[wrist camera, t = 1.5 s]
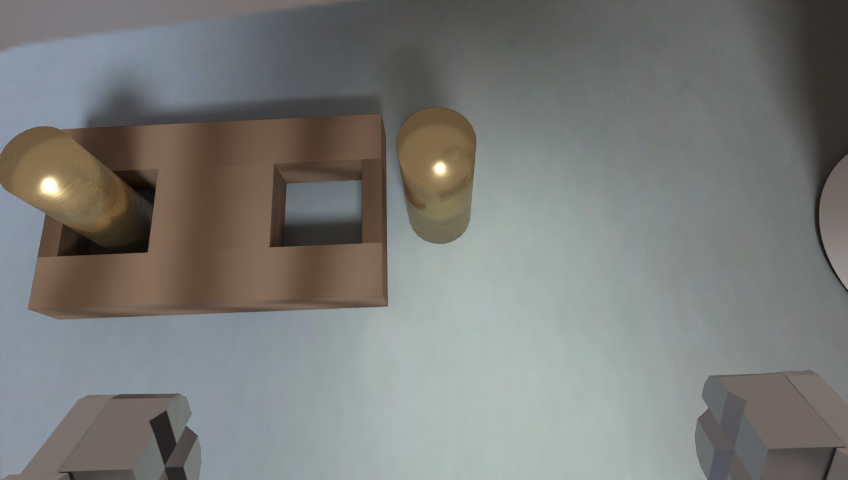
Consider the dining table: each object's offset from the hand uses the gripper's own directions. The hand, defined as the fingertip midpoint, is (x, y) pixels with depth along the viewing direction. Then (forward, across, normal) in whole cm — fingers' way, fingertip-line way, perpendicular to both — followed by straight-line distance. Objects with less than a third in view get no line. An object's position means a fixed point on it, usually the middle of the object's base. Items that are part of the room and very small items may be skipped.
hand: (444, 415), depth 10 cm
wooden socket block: (+29, +14, +9) cm, 33 cm away
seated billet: (+29, +20, +9) cm, 37 cm away
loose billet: (+29, 0, +9) cm, 30 cm away
